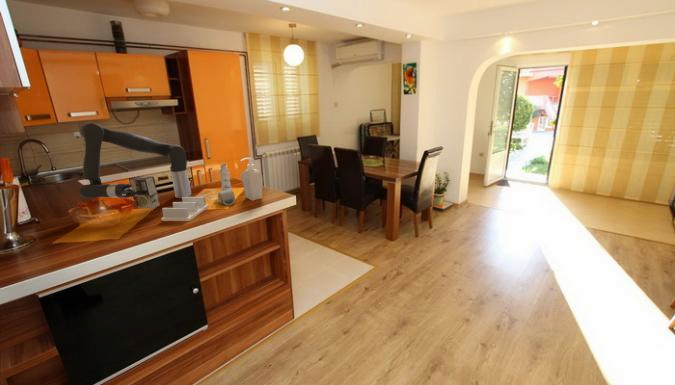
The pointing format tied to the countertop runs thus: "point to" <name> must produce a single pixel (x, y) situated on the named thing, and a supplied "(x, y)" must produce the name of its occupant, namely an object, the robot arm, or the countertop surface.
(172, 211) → the slot rack
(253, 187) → the soap bottle
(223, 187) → the plastic bottle
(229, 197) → the ceramic mug
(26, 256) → the countertop surface
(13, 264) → the countertop surface
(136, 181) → the coffee box
